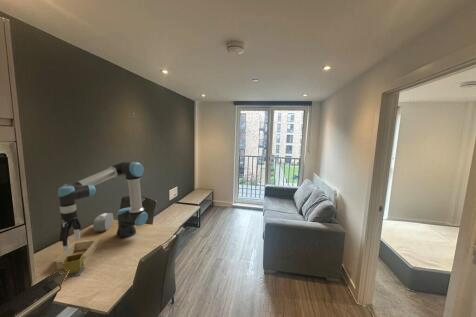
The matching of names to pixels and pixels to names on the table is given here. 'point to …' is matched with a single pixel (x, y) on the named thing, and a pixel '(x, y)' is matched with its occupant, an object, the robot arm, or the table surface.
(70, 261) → the flower pot
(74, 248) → the wooden tray
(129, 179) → the robot arm
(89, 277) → the table surface
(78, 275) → the mat
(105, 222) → the alarm clock
